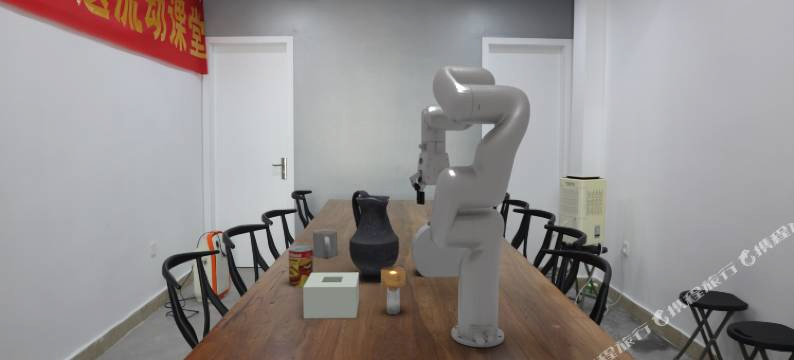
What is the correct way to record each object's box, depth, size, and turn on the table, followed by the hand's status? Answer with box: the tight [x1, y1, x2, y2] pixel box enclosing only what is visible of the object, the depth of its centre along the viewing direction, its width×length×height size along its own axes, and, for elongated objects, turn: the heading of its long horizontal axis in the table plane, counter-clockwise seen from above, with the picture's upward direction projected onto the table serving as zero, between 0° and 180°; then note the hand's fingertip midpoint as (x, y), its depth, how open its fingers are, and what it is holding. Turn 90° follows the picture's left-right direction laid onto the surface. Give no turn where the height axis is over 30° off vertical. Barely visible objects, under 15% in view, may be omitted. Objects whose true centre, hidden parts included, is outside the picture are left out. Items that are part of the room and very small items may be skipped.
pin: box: [380, 266, 407, 315], centre depth 129 cm, size 7×7×12 cm
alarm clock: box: [410, 220, 467, 278], centre depth 167 cm, size 21×8×20 cm, turn 92°
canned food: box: [288, 245, 314, 288], centre depth 155 cm, size 8×8×12 cm
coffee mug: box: [312, 228, 338, 259], centre depth 194 cm, size 13×10×10 cm
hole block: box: [302, 271, 360, 319], centre depth 131 cm, size 14×14×8 cm
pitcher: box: [348, 189, 400, 282], centre depth 163 cm, size 17×21×30 cm
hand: (433, 203), depth 145 cm, fingers open, 9 cm apart
